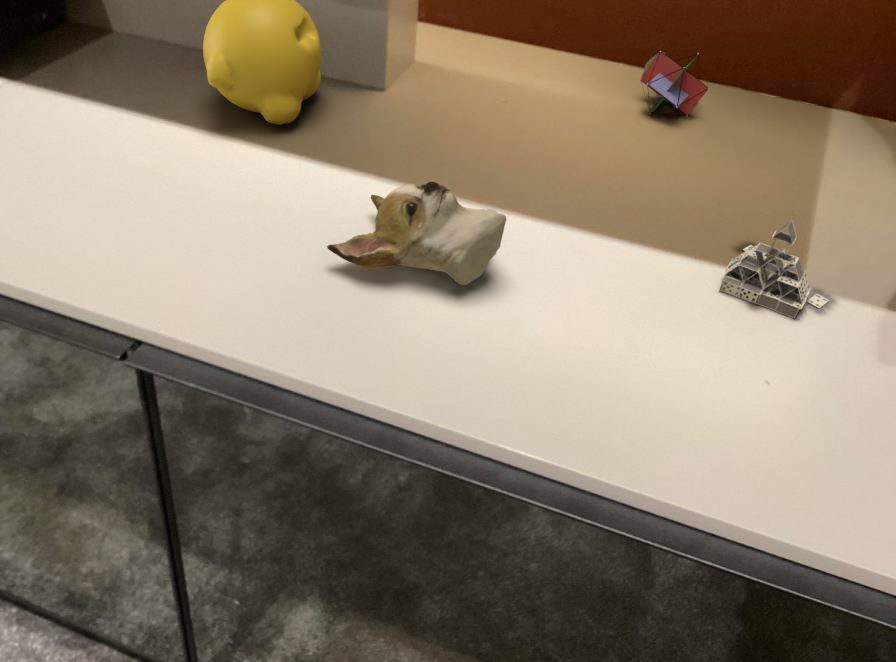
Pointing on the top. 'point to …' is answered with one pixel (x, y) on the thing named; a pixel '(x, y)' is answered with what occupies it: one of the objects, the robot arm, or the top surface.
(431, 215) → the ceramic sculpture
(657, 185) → the top surface
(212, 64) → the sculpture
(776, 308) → the house of cards
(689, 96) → the geometric puzzle
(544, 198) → the top surface
